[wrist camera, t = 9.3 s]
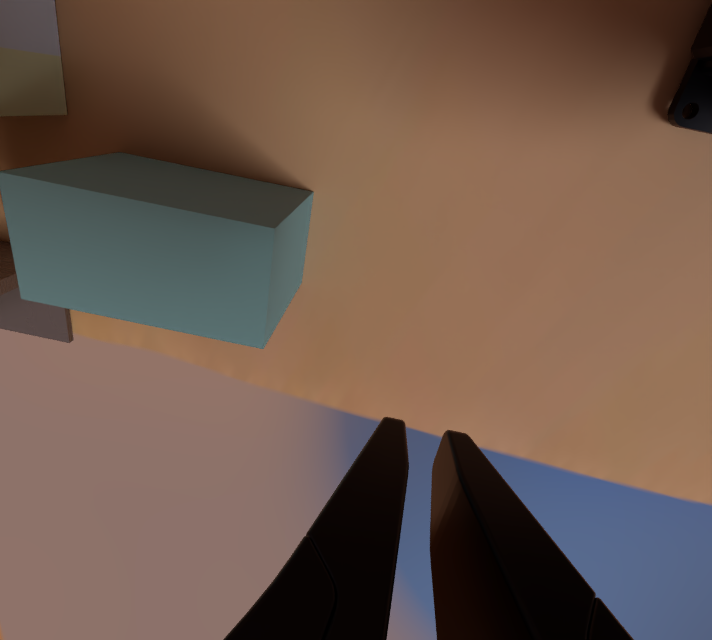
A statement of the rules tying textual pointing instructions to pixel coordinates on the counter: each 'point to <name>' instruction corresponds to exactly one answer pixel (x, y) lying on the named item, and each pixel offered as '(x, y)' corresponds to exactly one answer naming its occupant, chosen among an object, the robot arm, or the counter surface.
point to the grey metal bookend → (28, 306)
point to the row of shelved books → (30, 59)
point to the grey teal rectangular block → (158, 243)
